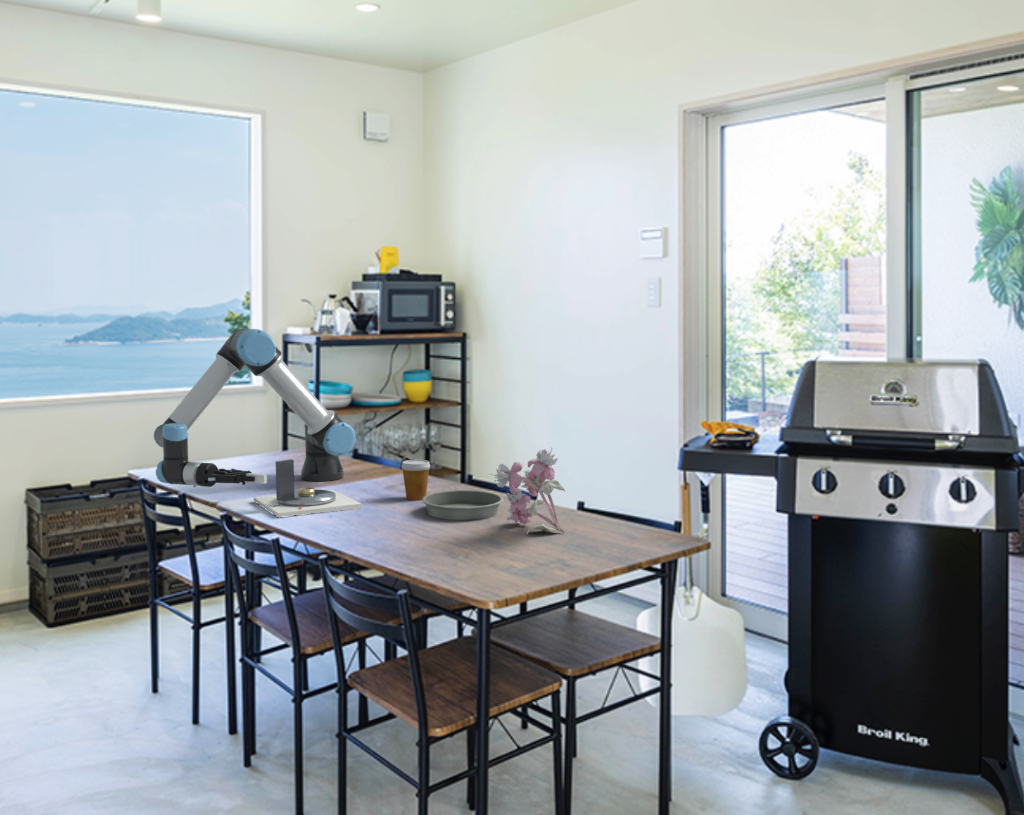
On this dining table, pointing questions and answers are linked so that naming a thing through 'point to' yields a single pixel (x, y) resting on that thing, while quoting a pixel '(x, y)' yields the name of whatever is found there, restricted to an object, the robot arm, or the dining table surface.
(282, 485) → the dial
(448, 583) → the dining table surface
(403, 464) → the disposable coffee cup
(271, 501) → the dial board
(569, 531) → the dining table surface
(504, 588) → the dining table surface
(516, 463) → the flower
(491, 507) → the cake pan
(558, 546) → the dining table surface
